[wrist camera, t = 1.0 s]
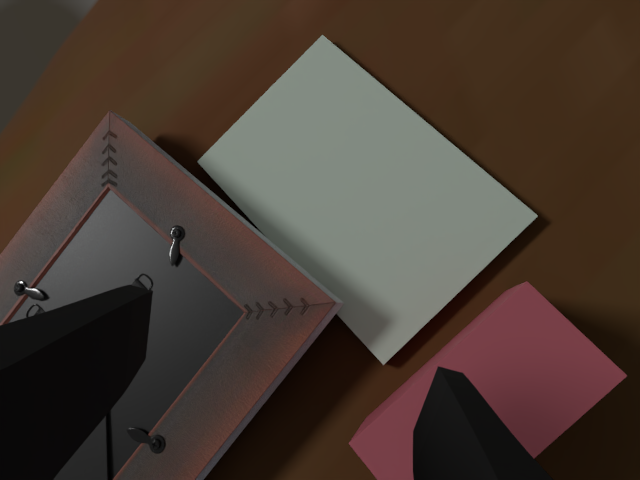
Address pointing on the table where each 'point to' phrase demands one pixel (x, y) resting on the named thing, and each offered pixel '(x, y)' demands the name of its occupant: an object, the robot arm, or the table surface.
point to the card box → (499, 380)
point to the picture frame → (165, 302)
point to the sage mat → (364, 196)
